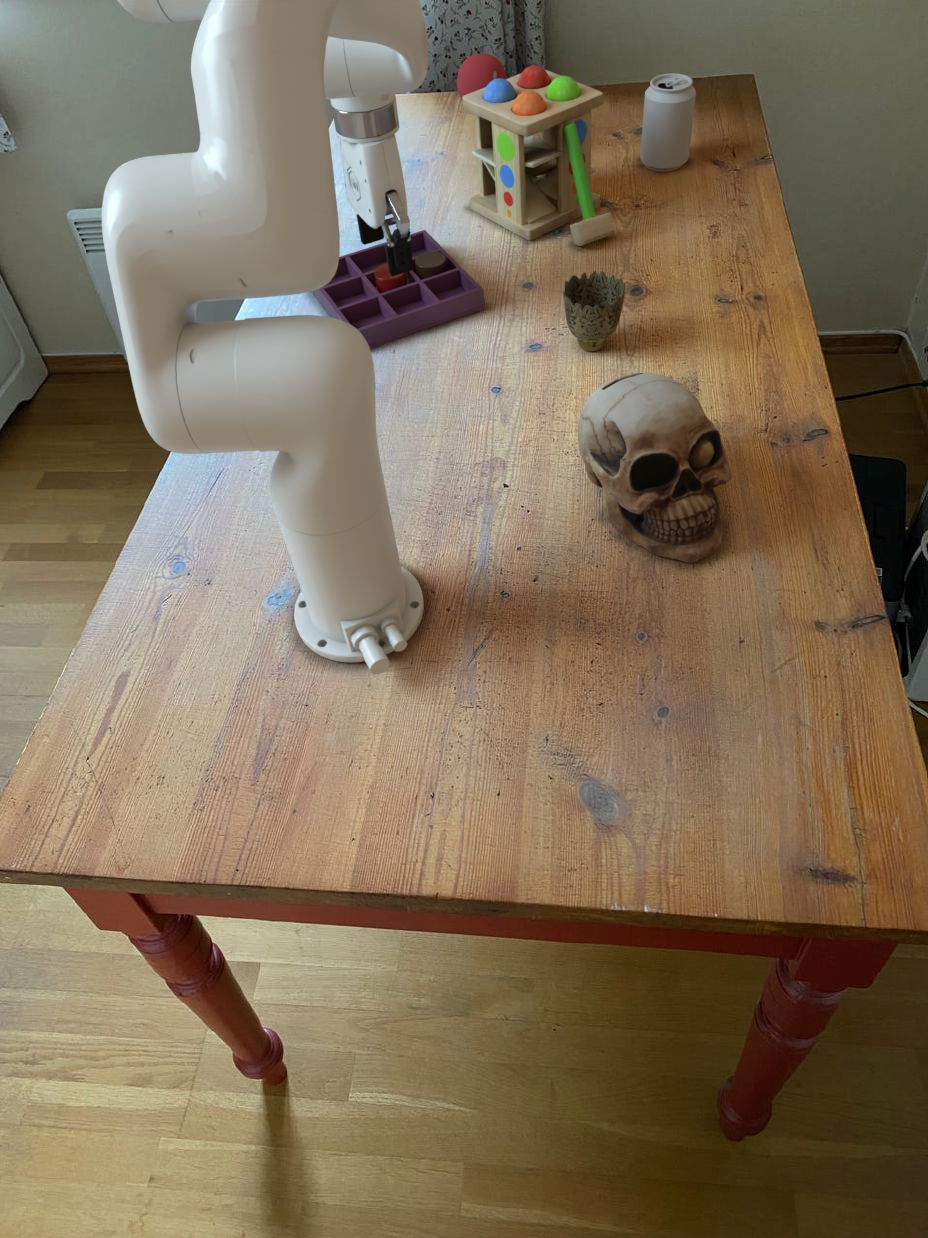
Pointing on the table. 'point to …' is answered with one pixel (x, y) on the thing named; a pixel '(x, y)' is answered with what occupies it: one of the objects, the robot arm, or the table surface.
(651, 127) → the can
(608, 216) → the pounding bench toy
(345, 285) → the board
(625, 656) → the table surface
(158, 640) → the table surface
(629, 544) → the table surface
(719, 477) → the coin bank
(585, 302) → the cup
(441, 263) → the walnut token
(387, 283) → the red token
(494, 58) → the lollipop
